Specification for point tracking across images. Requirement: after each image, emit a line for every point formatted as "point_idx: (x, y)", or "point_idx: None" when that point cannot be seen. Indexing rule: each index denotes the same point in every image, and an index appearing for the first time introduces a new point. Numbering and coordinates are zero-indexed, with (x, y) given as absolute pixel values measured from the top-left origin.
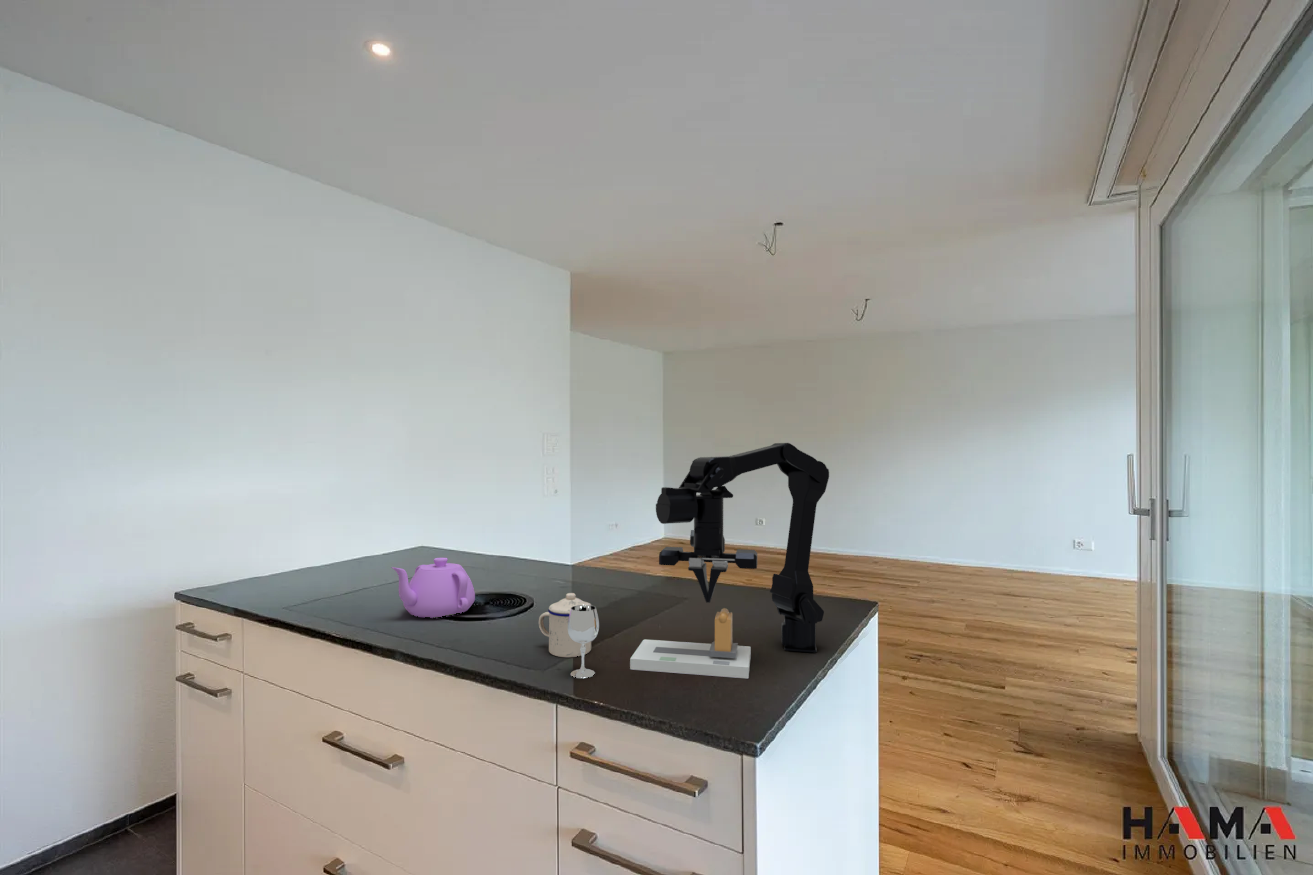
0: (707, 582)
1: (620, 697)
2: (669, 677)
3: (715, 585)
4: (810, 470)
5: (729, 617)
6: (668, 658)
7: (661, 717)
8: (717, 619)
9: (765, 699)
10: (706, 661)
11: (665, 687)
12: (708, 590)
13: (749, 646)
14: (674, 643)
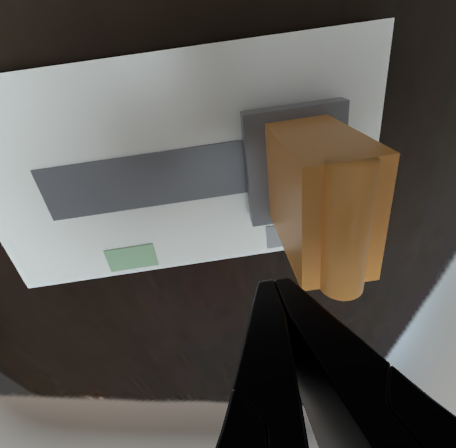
0: (300, 399)
1: (117, 376)
2: (162, 277)
3: (381, 360)
4: None
5: (374, 251)
6: (132, 256)
7: (215, 400)
8: (313, 285)
9: (380, 304)
10: (245, 235)
11: (176, 321)
12: (307, 413)
13: (389, 19)
14: (69, 97)
